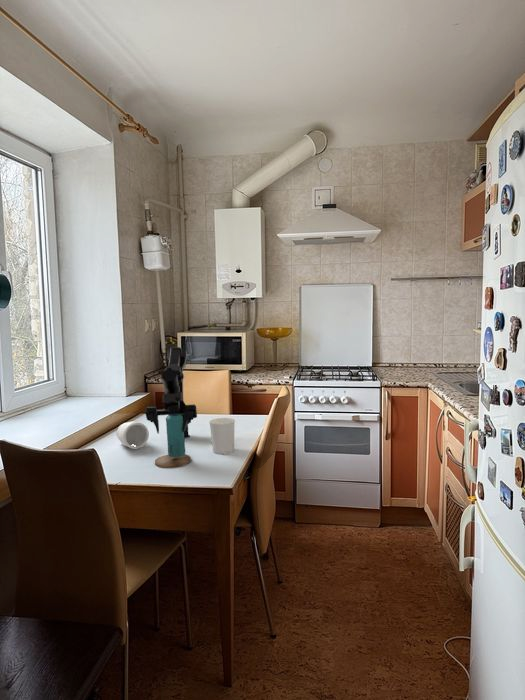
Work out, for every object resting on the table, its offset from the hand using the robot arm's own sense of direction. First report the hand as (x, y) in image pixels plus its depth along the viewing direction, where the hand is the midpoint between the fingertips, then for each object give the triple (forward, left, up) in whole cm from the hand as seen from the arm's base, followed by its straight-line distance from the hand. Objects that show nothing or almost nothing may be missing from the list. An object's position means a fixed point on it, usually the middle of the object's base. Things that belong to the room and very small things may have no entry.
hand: (170, 432), depth 171 cm
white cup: (-22, -1, -12) cm, 25 cm away
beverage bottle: (-2, -1, -11) cm, 11 cm away
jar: (+6, -40, -7) cm, 41 cm away
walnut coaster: (-1, -1, -12) cm, 12 cm away
